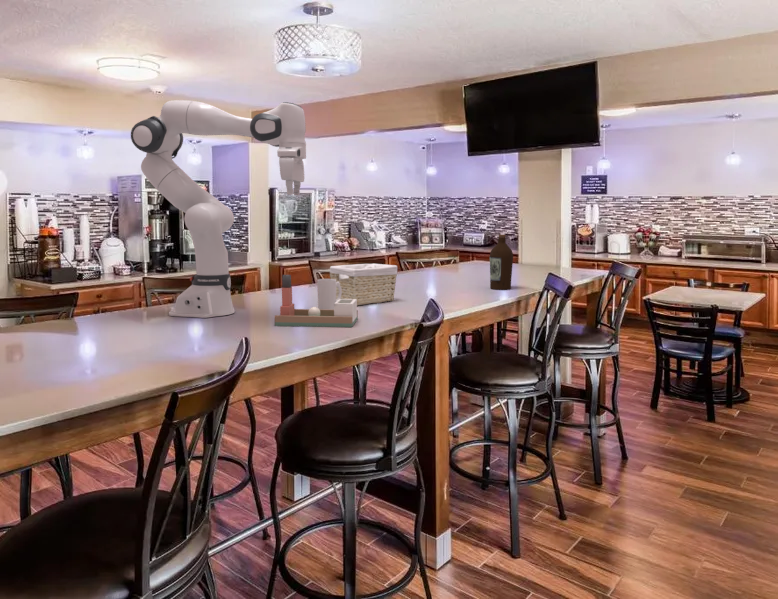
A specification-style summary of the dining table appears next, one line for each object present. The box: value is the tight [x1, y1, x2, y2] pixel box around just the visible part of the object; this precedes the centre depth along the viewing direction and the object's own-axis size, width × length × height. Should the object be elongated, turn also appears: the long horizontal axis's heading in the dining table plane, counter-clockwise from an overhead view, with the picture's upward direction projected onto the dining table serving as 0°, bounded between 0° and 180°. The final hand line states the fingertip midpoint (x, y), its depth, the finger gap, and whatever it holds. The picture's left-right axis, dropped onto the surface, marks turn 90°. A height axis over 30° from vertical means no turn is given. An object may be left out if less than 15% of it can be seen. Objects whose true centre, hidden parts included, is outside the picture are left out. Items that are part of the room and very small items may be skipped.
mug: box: [316, 278, 342, 310], centre depth 225 cm, size 10×7×12 cm, turn 134°
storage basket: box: [329, 263, 398, 306], centre depth 250 cm, size 24×16×15 cm
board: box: [274, 299, 359, 328], centre depth 206 cm, size 25×14×7 cm, turn 85°
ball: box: [308, 306, 320, 316], centre depth 206 cm, size 4×4×4 cm
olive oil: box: [489, 234, 514, 291], centre depth 289 cm, size 11×11×25 cm
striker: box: [279, 274, 295, 316], centre depth 206 cm, size 3×7×14 cm, turn 175°
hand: (293, 195), depth 211 cm, fingers open, 8 cm apart
